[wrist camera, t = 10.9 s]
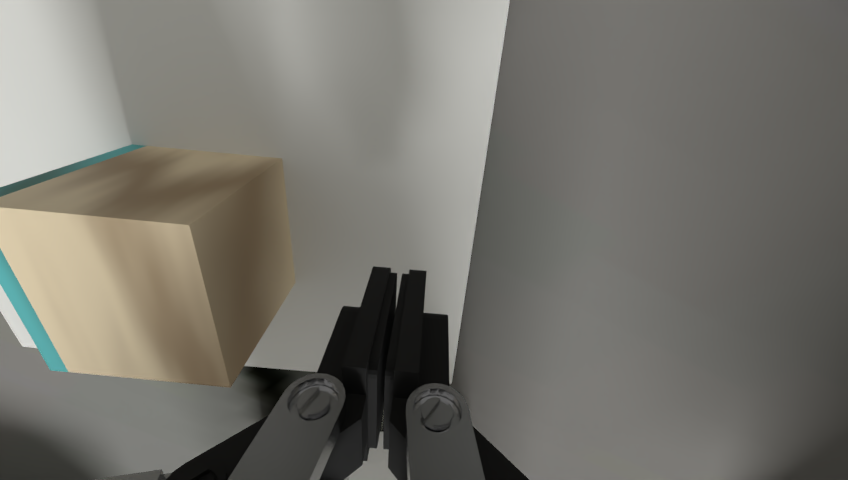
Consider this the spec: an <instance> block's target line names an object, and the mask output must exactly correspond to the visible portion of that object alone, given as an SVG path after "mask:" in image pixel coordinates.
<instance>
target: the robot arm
mask: <svg viewBox="0 0 848 480" xmlns="http://www.w3.org/2000/svg"><path fill="white" fill-rule="evenodd" d="M426 272H427V271H423V270H411V269H410V270H409V274H404V273H402V278H401V283H400V289H399V294H398V300H397V306H396V292H397V273H392V272H391V268H387V267H375V266H373V268H372V271H371V274H370V278H369V281H368V284H367V287H366V290H365V293H364V297H363V300H362V303H361V306H360V307H352V306H343V307H342V309H341V311H340V314H339V316H338V319H337V321H336V324H335V327H334V329H333V332H332V335H331V337H330V340H329V342H328V345H327V348H326V350H325V353H324V355H323V358H322V361H321V363H320V366H319V368H318V371H317V373H315V374H309V375H306V376H303V377H301V378H299V379H297V380H296V381H294V382H293V383H292V384H290V385H289V387H288V388H287V389H286V390H285V391H284V393H283V394H282V396H281V397H280V399H279V401H278V402H277V404H276V405H275V407H274V408H273V410H272V411H271V413H270V414H269V416H267V417H265V418H263V419H262V420H260V421H258V422H256V423H255V424H253V425H251V426H249V427H248V428H246V429H244V430H243V431H241V432H239V433H237V434H236V435H234V436H232V437H230V438H229V439H227V440H225V441H223V442H222V443H220V444H218V445H216V446H215V447H213V448H211V449H209V450H208V451H206V452H204V453H202V454H201V455H199V456H197V457H195V458H194V459H192V460H190V461H189V462H187V463H185V464H184V465H182V466H181V467H179V468H178V469H177V470H175V471H174V472H172V473H168V474H163V471H162V470H155V471H148V472H141V473H134V474H128V475H121V476H114V477H107V478H100V479H93V480H349V476H350V474H352V473H353V472H354V471H356V470H357V469H358V468H359V467H361V466H362V464H363V461H367V459H368V454H369V448H377V446H378V440H379V434H380V428H381V422H382V415H383V409H384V431H383V449H388V450H389V453H388V468H389V469H390V471H391V472H392V473H393V475H394V476H395V477H396V478H397V480H529V479H528V478H527V477H526V476H525V475H524V474H523V473H521V472H520V471H519V470H518V469H517V468H516V467H515V466H514V465H513V464H512V463H511V462H510V461H509V460H508V459H507V458H506V457H505V456H504V455H503V454H501V453H500V452H499V451H498V450H497V449H496V448H495V447H494V446H493V445H492V444H491V443H490V442H489V441H488V440H487V439H486V438H485V437H484V436H482V435H481V434H480V433H479V432H478V431H477V430H476V429H475V428H474V427H473V426H472V422H471V417H470V413H469V409H468V406H467V403H466V401H465V399H464V398H463V397H462V395H461V394H460V393H459V392H458V391H456V390H455V389H453V388H452V387H450V386H449V333H448V315H446V314H434V313H424V299H425V286H426Z"/></svg>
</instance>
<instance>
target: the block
mask: <svg viewBox="0 0 848 480" xmlns="http://www.w3.org/2000/svg"><path fill="white" fill-rule="evenodd" d="M295 283H296V282H295V273H294V263H293V254H292V245H291V236H290V226H289V217H288V208H287V198H286V189H285V180H284V171H283V161H282V158H272V157H262V156H251V155H240V154H230V153H219V152H208V151H197V150H187V149H176V148H165V147H155V146H144V145H133V144H131V145H128V146H125V147H122V148H119V149H116V150H113V151H110V152H107V153H104V154H101V155H98V156H95V157H92V158H89V159H86V160H82V161H79V162H76V163H73V164H70V165H67V166H64V167H61V168H58V169H55V170H52V171H49V172H46V173H43V174H40V175H37V176H34V177H30V178H27V179H24V180H21V181H18V182H15V183H12V184H9V185H6V186H3V187H0V285H1V286H2V288H3V290H4V292H5V293H6V295H7V297H8V298H9V300H10V302H11V304H12V305H13V307H14V309H15V310H16V312H17V314H18V316H19V317H20V319H21V321H22V322H23V324H24V326H25V328H26V329H27V331H28V333H29V334H30V336H31V338H32V340H33V341H34V343H35V345H36V346H37V348H38V350H39V352H40V353H41V355H42V357H43V358H44V360H45V362H46V364H47V365H48V367H49V369H50V370H53V371H63V372H74V373H84V374H95V375H105V376H115V377H126V378H136V379H147V380H157V381H168V382H178V383H189V384H199V385H210V386H220V387H231V386H232V385H233V383H234V381H235V380H236V378H237V376H238V375H239V373H240V372H241V370H242V368H243V367H244V365H245V363H246V362H247V360H248V359H249V357H250V355H251V354H252V352H253V351H254V349H255V347H256V346H257V344H258V342H259V341H260V339H261V338H262V336H263V334H264V333H265V331H266V329H267V328H268V326H269V325H270V323H271V321H272V320H273V318H274V317H275V315H276V313H277V312H278V310H279V308H280V307H281V305H282V304H283V302H284V300H285V299H286V297H287V295H288V294H289V292H290V291H291V289H292V287H293V286H294V284H295Z"/></svg>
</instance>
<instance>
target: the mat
mask: <svg viewBox="0 0 848 480" xmlns="http://www.w3.org/2000/svg"><path fill="white" fill-rule="evenodd" d="M509 2H510V0H0V187H3V186H6V185H9V184H12V183H15V182H18V181H21V180H24V179H27V178H30V177H34V176H37V175H40V174H43V173H46V172H49V171H52V170H55V169H58V168H61V167H64V166H67V165H70V164H73V163H76V162H79V161H82V160H86V159H89V158H92V157H95V156H98V155H101V154H104V153H107V152H110V151H113V150H116V149H119V148H122V147H125V146H128V145H131V144H133V145H144V146H155V147H165V148H176V149H187V150H197V151H208V152H219V153H230V154H240V155H251V156H262V157H272V158H282V161H283V171H284V180H285V189H286V198H287V208H288V217H289V226H290V236H291V245H292V254H293V263H294V273H295V282H296V283H295V284H294V286H293V287H292V289H291V291H290V292H289V294H288V295H287V297H286V299H285V300H284V302H283V304H282V305H281V307H280V308H279V310H278V312H277V313H276V315H275V317H274V318H273V320H272V321H271V323H270V325H269V326H268V328H267V329H266V331H265V333H264V334H263V336H262V338H261V339H260V341H259V342H258V344H257V346H256V347H255V349H254V351H253V352H252V354H251V355H250V357H249V359H248V360H247V362H246V363H245V365H244V366H251V367H263V368H275V369H286V370H298V371H309V372H317V371H318V368H319V366H320V363H321V361H322V358H323V355H324V353H325V350H326V348H327V345H328V342H329V340H330V337H331V335H332V332H333V329H334V327H335V324H336V321H337V319H338V316H339V314H340V311H341V309H342V307H343V306H352V307H360V306H361V303H362V300H363V297H364V293H365V290H366V287H367V284H368V281H369V278H370V274H371V271H372V268H373V266H375V267H387V268H391V272H392V273H397V292H396V306H397V300H398V294H399V289H400V283H401V278H402V273H404V274H409V270H410V269H411V270H423V271H427V272H426V286H425V299H424V313H434V314H446V315H448V333H449V384H452V378H453V371H454V365H455V358H456V352H457V345H458V338H459V332H460V325H461V319H462V312H463V306H464V299H465V292H466V286H467V279H468V273H469V266H470V259H471V253H472V246H473V240H474V233H475V226H476V220H477V213H478V207H479V200H480V193H481V187H482V180H483V174H484V167H485V160H486V154H487V147H488V141H489V134H490V127H491V121H492V114H493V108H494V101H495V95H496V88H497V81H498V75H499V68H500V62H501V55H502V48H503V42H504V35H505V29H506V22H507V15H508V9H509ZM0 311H1V313H2V315H3V316H4V318H5V319H6V321H7V323H8V324H9V326H10V327H11V329H12V331H13V332H14V334H15V335H16V337H17V339H18V340H19V342H20V343H21V345H22V347H32V348H37V346H36V345H35V343H34V341H33V340H32V338H31V336H30V334H29V333H28V331H27V329H26V328H25V326H24V324H23V322H22V321H21V319H20V317H19V316H18V314H17V312H16V310H15V309H14V307H13V305H12V304H11V302H10V300H9V298H8V297H7V295H6V293H5V292H4V290H3V288H2V286H1V285H0Z"/></svg>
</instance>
